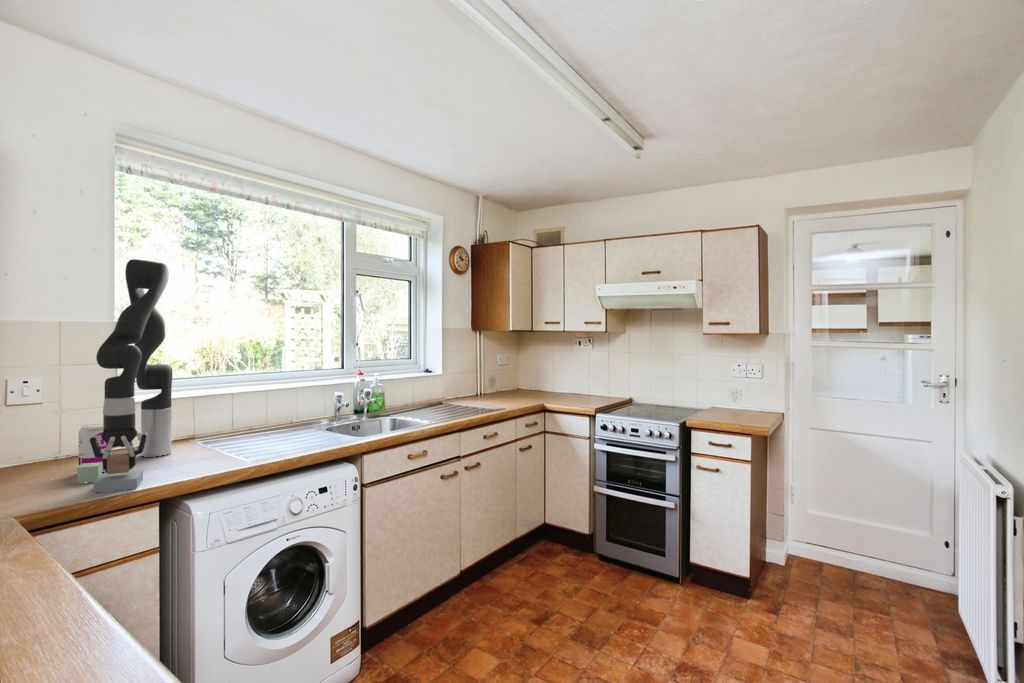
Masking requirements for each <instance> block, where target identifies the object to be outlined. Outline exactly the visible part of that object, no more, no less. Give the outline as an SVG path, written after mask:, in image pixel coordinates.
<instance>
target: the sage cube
mask: <svg viewBox="0 0 1024 683" xmlns="http://www.w3.org/2000/svg"><path fill="white" fill-rule="evenodd" d="M102 474H103V473H102V462H96V463H84V464H81V465H80V466H79V465H78V466H77V467H76V484H77V483H83V484H86V483H85V482H95V481H96V480H97V479H98V478H99V477H100V476H101V475H102Z"/></svg>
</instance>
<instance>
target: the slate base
mask: <svg viewBox="0 0 1024 683" xmlns="http://www.w3.org/2000/svg"><path fill="white" fill-rule="evenodd" d="M143 480H144V470H142V469H141V470H140V469H139V470H130V471H129V472H127V473H116V474H107V472H104V473H102V475H101V476H100V477H99V478H98V479H97V480H96V481H95V482H94V483H93V494H97V493H96V492H101V493H106V492H105V491H111V492H116V491H115V490H121V491H126V490H125V489H130V490H137V489H138V488H139V486H140V485H141V483H142V481H143ZM137 487H138V488H137ZM136 488H137V489H136Z"/></svg>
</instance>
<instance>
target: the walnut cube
mask: <svg viewBox="0 0 1024 683" xmlns="http://www.w3.org/2000/svg"><path fill="white" fill-rule="evenodd" d="M129 457H130V455H129V453H128V451H124V452H111V454H110V455H109V456H108V457H107V472H106V473H107V474H116V473H127V472H129V471H132V469H129Z"/></svg>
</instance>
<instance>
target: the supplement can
mask: <svg viewBox="0 0 1024 683" xmlns="http://www.w3.org/2000/svg"><path fill="white" fill-rule="evenodd" d="M102 433H103V423H93V424H92V423H91V424H86V425H82V426H80V428H79V430H78V467H79V466H80V465H81V464H84V463H96V462H102V472H104V473H107V472H106V469H105V470H104V469H103V459H102V458H100V457H95V456H94V452H93V449H92V446H91V443H90V438H91V437H93V436H99V435H102ZM99 446H100V449H101V452H103V453H104V452H105V449H106V447H107V443H106V442H105V441H104V440H103V439H101V442H100V443H99ZM111 453H112V452H111ZM111 453H110V454H111Z"/></svg>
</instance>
